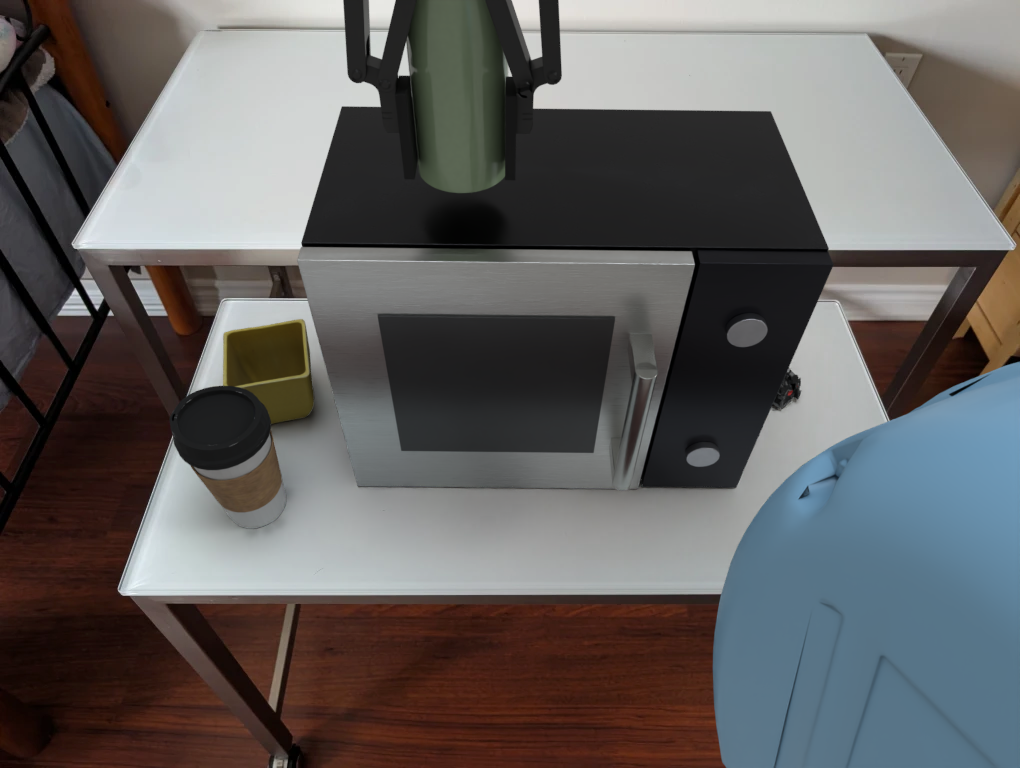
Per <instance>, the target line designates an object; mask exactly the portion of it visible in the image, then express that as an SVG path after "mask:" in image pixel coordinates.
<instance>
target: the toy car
mask: <svg viewBox="0 0 1020 768" xmlns="http://www.w3.org/2000/svg"><path fill="white" fill-rule="evenodd" d="M801 380H802V378H801V377H799V375H798V374H796V373H795V372H793V371H792V370H791V368H790V367H789V368H788V370H787V373H786V375H785V377H784V379H783V382H782V384H781V386H780V389H779V391H778V393H777V395H776V398H775V400H774V402H773V406H775V407H776V408H778V409H780V410H783V409H784V408H786V407H787V405H788V404H789V403H791V402H792V400H793V399H795V400H797V401H799V399H800V397H801V395H802V390H801V389H800V388H801V385H802V381H801Z"/></svg>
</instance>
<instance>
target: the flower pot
mask: <svg viewBox="0 0 1020 768" xmlns="http://www.w3.org/2000/svg"><path fill="white" fill-rule="evenodd" d="M222 386H235V387H240V388H243V389H246V390H248V391H250V392H252V393H253V394H254V395H255V396H256V397H257V398H258V399H259V401H260V402H262V403H263V404H264V405H265V407H266V409H267V410H268V413H269V416H270V419H271V425H273V424H279V423H283V422H289V421H294V420H300V419H304V418H306V417H307V418H308V416H309V415H310V414H311V412H312V411H313V409H314V405H315V394H314V384H313V374H312V361H311V350H310V344H309V337H308V331H307V325H306V321H305V320H304V319H303V318H300V319H292V320H286V321H282V322H281V321H280V322H276V323H271V324H265V325H264V324H263V325H258V326H251V327H244V328H238V329H231V330H228V331H224V332H223V335H222Z"/></svg>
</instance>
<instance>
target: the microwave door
mask: <svg viewBox="0 0 1020 768" xmlns="http://www.w3.org/2000/svg"><path fill="white" fill-rule="evenodd" d="M296 263H297V266H298V270H299V274H300V277H301V281H302V285H303V289H304V292H305V295H306V299H307V304H308V307H309V311H310V315H311V318H312V321H313V326H314V330H315V332H316V336H317V340H318V343H319V347H320V348H319V349H320V351H321V356H322V358H323V362H324V367H325V370H326V374H327V378H328V381H329V385H330V388H331V392H332V395H333V399H334V403H335V408H336V411H337V414H338V415H337V416H338V418H339V421H340V425H341V429H342V433H343V437H344V441H345V445H346V448H347V453H348V455H349V460H350V462H351V467H352V471H353V473H354V478H355V481H356V485H357V487H406V488H407V487H411V488H412V487H413V488H414V487H415V488H416V487H417V488H418V487H419V488H500V489H501V488H502V489H503V488H505V489H507V488H509V489H511V488H512V489H513V488H514V489H515V488H516V489H521V488H522V489H596V490H597V489H601V490H602V489H606V490H618V491H621V492H622V491H627V490H638V489H639V487H640V484H641V475H642V471H643V467H644V463H645V459H646V455H647V451H648V448H649V444H650V440H651V436H652V432H653V428H654V424H655V420H656V416H657V412H658V408H659V404H660V400H661V397H662V393H663V389H664V385H665V381H666V377H667V373H668V369H669V365H670V361H671V357H672V353H673V349H674V345H675V342H676V338H677V334H678V330H679V326H680V322H681V318H682V314H683V310H684V306H685V302H686V298H687V294H688V291H689V287H690V283H691V279H692V275H693V271H694V267H695V262H694V258H693V254H692V251H622V250H532V249H441V248H351V247H302V246H301V247H300V249H299V253H298V255H297V258H296Z"/></svg>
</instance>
